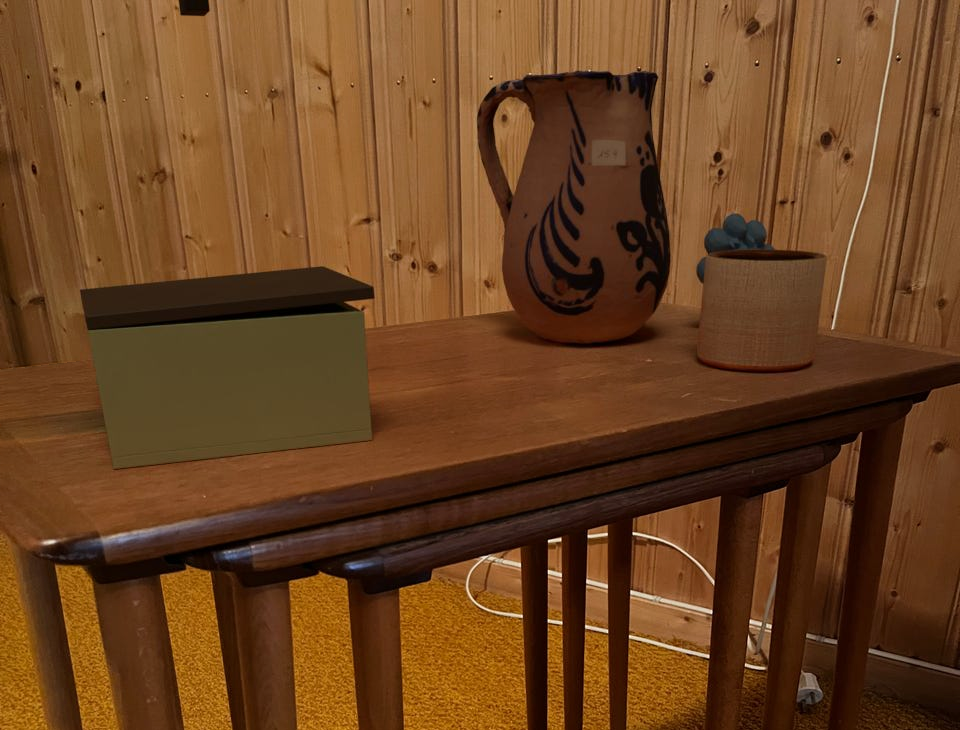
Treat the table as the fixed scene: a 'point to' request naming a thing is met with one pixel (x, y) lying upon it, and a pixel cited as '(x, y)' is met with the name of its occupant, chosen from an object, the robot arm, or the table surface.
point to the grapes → (734, 238)
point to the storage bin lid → (218, 296)
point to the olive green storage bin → (233, 384)
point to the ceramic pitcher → (582, 205)
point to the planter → (760, 309)
